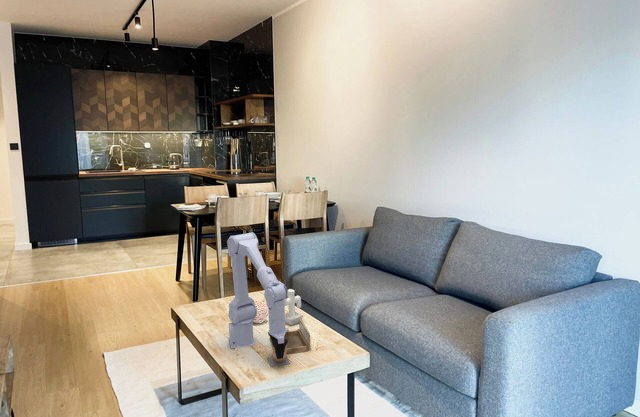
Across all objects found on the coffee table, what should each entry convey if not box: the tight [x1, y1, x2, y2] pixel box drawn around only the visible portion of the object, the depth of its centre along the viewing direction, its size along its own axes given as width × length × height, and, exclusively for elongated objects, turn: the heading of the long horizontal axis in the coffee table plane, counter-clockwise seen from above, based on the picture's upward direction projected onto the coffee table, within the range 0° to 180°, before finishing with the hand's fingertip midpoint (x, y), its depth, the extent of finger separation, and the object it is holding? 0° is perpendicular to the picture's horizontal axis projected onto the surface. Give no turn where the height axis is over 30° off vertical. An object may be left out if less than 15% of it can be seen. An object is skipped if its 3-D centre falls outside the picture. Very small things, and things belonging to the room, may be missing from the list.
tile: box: [267, 354, 291, 367], centre depth 175 cm, size 7×7×1 cm
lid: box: [298, 318, 311, 352], centre depth 190 cm, size 1×15×8 cm, turn 15°
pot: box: [270, 343, 287, 363], centre depth 175 cm, size 5×5×6 cm
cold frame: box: [269, 328, 312, 356], centre depth 188 cm, size 13×16×6 cm
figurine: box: [284, 288, 304, 326], centre depth 210 cm, size 7×9×15 cm
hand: (278, 354), depth 175 cm, fingers open, 5 cm apart
